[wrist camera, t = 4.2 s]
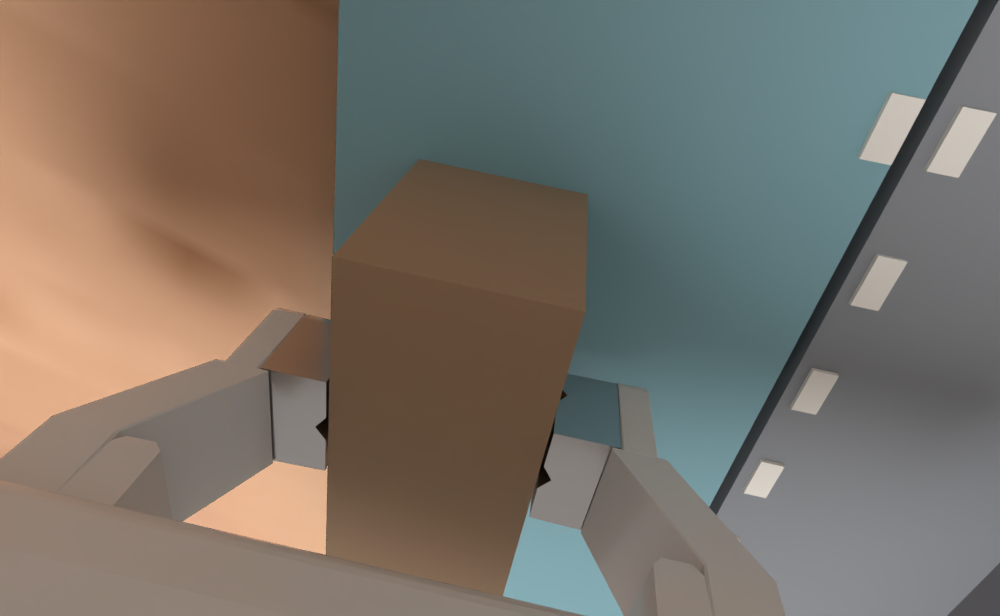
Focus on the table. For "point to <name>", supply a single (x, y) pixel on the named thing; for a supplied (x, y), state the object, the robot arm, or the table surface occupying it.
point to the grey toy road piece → (895, 385)
